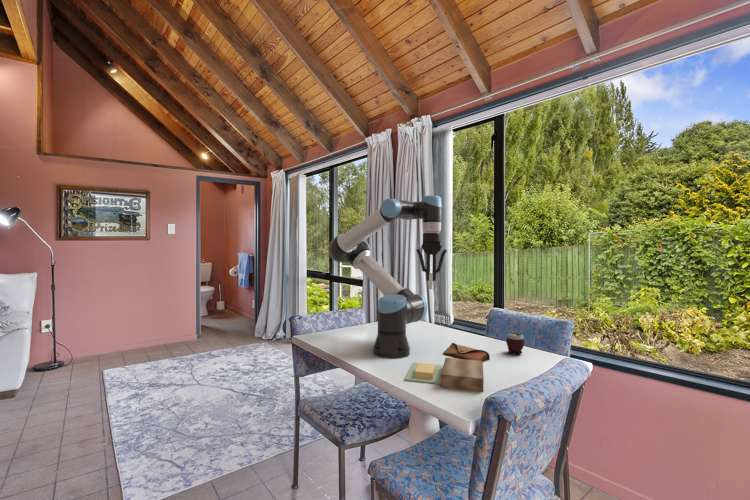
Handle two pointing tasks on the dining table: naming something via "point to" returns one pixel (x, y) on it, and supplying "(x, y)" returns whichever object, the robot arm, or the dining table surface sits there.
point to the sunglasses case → (466, 353)
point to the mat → (435, 379)
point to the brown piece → (462, 374)
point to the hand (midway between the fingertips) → (431, 288)
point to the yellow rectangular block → (425, 371)
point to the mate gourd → (515, 342)
